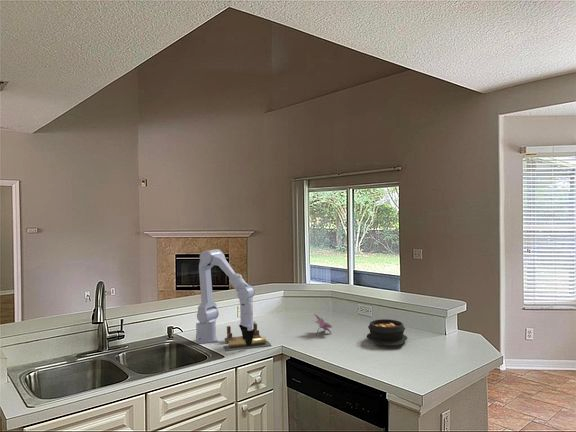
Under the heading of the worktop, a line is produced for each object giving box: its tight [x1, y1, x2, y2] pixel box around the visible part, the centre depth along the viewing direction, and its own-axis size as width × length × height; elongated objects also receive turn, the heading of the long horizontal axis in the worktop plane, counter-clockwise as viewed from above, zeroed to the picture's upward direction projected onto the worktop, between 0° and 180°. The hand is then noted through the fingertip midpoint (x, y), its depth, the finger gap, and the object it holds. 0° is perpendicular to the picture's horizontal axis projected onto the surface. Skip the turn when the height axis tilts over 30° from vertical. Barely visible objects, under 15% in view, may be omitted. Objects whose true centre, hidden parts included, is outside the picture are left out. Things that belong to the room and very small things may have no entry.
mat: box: [222, 340, 272, 352], centre depth 193 cm, size 21×7×1 cm, turn 106°
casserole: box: [366, 318, 408, 347], centre depth 196 cm, size 25×19×8 cm
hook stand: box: [224, 323, 262, 345], centre depth 203 cm, size 17×6×6 cm, turn 106°
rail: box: [227, 336, 267, 348], centre depth 193 cm, size 17×3×3 cm, turn 106°
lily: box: [313, 313, 333, 336], centre depth 210 cm, size 12×12×10 cm
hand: (247, 342), depth 193 cm, fingers open, 7 cm apart
